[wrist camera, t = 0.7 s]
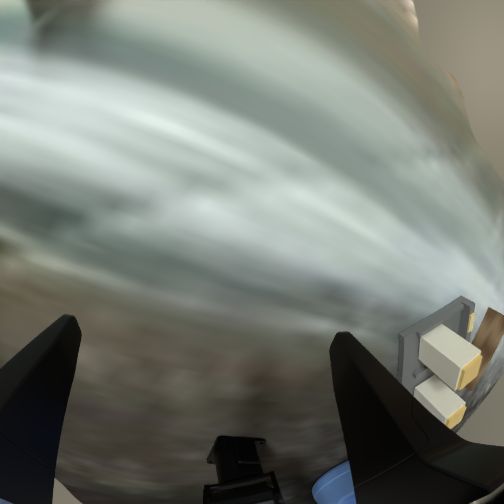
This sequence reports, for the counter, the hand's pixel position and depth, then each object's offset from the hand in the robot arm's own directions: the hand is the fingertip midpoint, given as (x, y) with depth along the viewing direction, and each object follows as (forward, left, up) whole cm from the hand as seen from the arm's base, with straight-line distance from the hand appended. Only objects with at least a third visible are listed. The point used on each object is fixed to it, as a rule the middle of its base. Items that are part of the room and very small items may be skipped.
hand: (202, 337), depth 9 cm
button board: (-11, -39, -16) cm, 44 cm away
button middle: (-13, -38, -14) cm, 42 cm away
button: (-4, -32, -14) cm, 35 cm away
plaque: (-4, -49, -16) cm, 51 cm away
